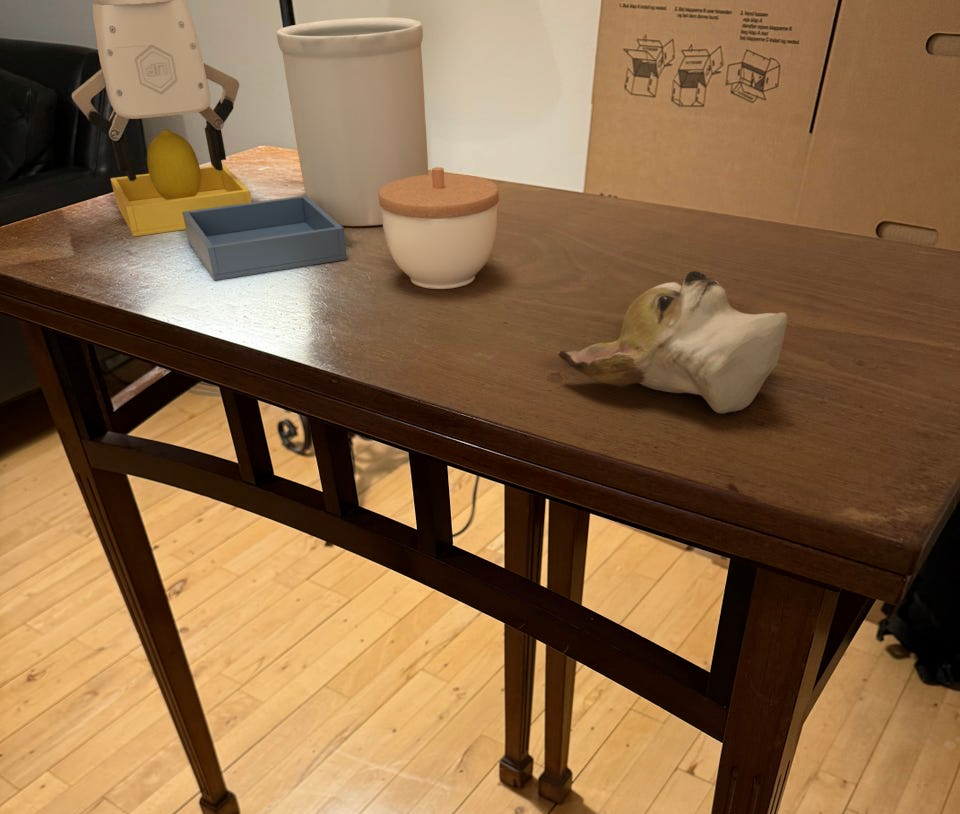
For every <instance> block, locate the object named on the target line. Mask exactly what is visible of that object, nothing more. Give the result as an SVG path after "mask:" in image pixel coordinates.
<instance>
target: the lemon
mask: <svg viewBox="0 0 960 814" xmlns="http://www.w3.org/2000/svg"><path fill="white" fill-rule="evenodd" d="M146 161H147V162H146V165H147V171H148V174H149V175H150V178H151V181H152V183H153V185H154V187H155V189H156V190H157V192H158V193H159V194H160V195H161V196H162V197H163V198H164V199H166V200H171V199H179V198H186V197H194V196H196V194H197V193H198V191H199V188H200V184H201V173H200V163H199V160H198V157H197V154H196V153H195V150H194V149H193V146H192V145H191V144H190V142H189V141H188V140H187V139H186V138H184V137H183V136H182V135H179V134H177V133H175V132H172V131H171V129H168V128H164V129H161V132H160V133H159V134H157V135H156V136H155V137H154V138H153V139H152V140H151V141H150V143H149V145H148V148H147V154H146Z"/></svg>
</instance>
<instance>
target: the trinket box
mask: <svg viewBox="0 0 960 814" xmlns="http://www.w3.org/2000/svg"><path fill="white" fill-rule="evenodd" d="M444 170H445V168H444V167H440V166H438V167H437V166H436V167H431V173H430V174H429V173H428V175H420V176H412V177H407V178H403V179H399V180H396V181H393V182H390V183H388V184H386V185H385V186H383V187H382V188H381V189H380V191H379V193H378V194H379V203H380V206H381V214H382V223H383V225H382V230H383V234H384V238H385V242H386V246H387V248H388V251H389V254H390V256H391V257H392V260H393V261H394V262H395V264H396V265H397V267H398V268H399V269H400V270H401V271H402V273H404V274H405V275H407V276H408V277H409V279H410V282H411V283H412V284H413V285H415V286H418V287H421V288H423V289H424V288H425V289H433V290H446V289H448V290H449V289H455V288H460V287H464V286H467V285H469V284H471V283H473V282H474V280H475V279H476V275H477V274H478V273H479V272H480V271H481V270H482V269H483V268H484V266H485V265H486V264H487V262H488V261H489V259H490V257H491V255H492V252H493V249H494V247H495V242H496V238H497V231H498V222H499V221H498V219H499V217H498V216H499V207H498V206H499V201H500V188H499V186H498V185H497V184H496V183H495V182H494V181H492V180H489V179H487V178H483V177H479V176H476V175H468V174H461V173H459V174H458V173H445V171H444Z"/></svg>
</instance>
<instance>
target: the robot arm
mask: <svg viewBox="0 0 960 814" xmlns="http://www.w3.org/2000/svg"><path fill="white" fill-rule="evenodd" d="M92 15H93V16H92V17H93V26H94V29H95V31H94V32H95V40H96V47H97V53H98V57H99V63H100V70H98V71H97V72H96V73H94V74H93V75H92V76H91V77H90V78H89V79H87V80H86V81H85V82H84V83H83V84H81V85H80V86H78V88H76V89H75V90H74V91H73V92H71V98H72V100H73V102H74V103H75V104H76V106H77V107H78V108H79V110H80V111H81V112H82V114H83V115H84V116H86V118H87V120H88V121H89V122H90V123H91V124H92V125H93V126H94V127H95V128H97V129H98V130H100V131H101V132H102V133H103V134H105V135H106V136H107V137H109V138H110V139H111V143H112V148H113V152H114V156H115V159H116V163H117V168H118V170H119V172H120V173H124V172H125V174H126V176H127V177H128V178H129V180H130V181H135V179H136V175H137V174H136V170H135V166H134V163H133V158H132V153H131V150H130V146H129V145H130V144H129V141H128V139H126V136H124V131H125V129H126V126H127V125H128V123H129V121H130V119H131V120H137V119H149V118H159V117H160V118H161V117H170V116H179V115H188V114H189V115H190V114H197V113H198V114H199V115H201V116H202V117H203V119H204V120H205V123H206V125H205V127H204V133H205V139H206V144H207V148H208V149H207V150H208V154H209V158H210V159H209V160H210V164H211V166H213V167H214V168H215V169H216V170H218V171H220V170H223V166H222V165H223V161H227V155H226V149H225V144H224V139H223V138H224V137H223V132H222V130H223V128H224V124H225V123H226V121H227V119H228V118H229V116H230V115H231V114H232V111H233V110H234V104H235V102H236V99H237V96H238V92H239V88H240V82H239V81H238V79H236V78H235V77H233V76H231V75H230V74H227V73H225V72H223V71H221V70H219V69H217V68H215V67H213V66H211V65H209V64H207V63H205V62H204V59H203V55H202V51H201V48H200V43H199V39H198V36H197V31H196V27H195V24H194V21H193V18H192V15H191V12H190V9H189V6H188V3H187V1H186V0H96V1H93V2H92ZM208 80H209V81H210V82H213V83H215V84H217V85H218V86H221V88H222V93H221V97H220V99H219V101H218V102H217V103H216V105H215V107H214V108H213V109H212V107H211V92H210V86H209V83H208ZM104 89H105V91H106V95H107V98H108V101H109V104H110V105H111V107H112V109H113V110H112V112H111V114H110V116H109V119H107V117H105V116H104V115H103V114H101V113H100V112H99V111H97V109H96V108H95V106H94V105H93V104H92V99H93V98H94V97H95V96H96V95H98V94H99V93H100V92H101V91H103V90H104Z"/></svg>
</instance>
